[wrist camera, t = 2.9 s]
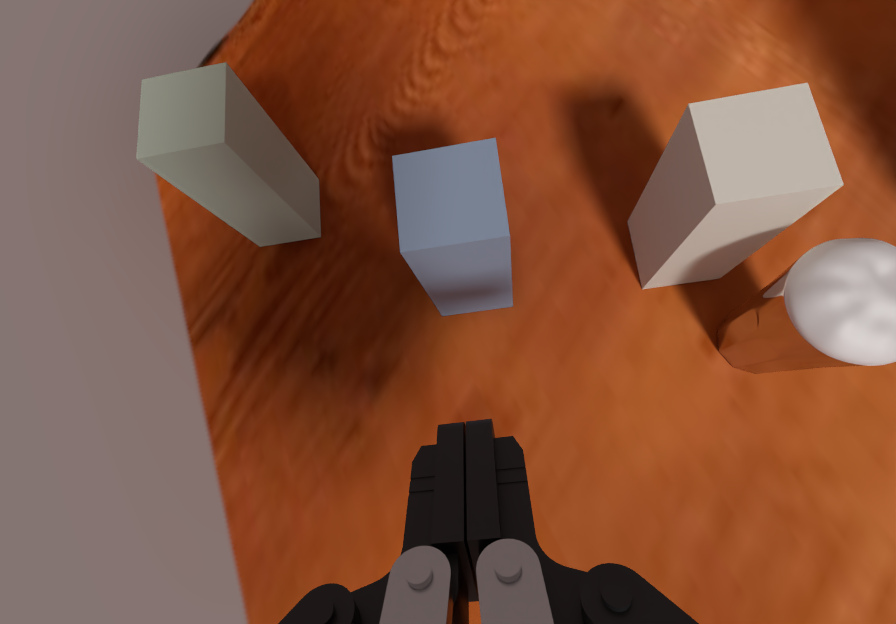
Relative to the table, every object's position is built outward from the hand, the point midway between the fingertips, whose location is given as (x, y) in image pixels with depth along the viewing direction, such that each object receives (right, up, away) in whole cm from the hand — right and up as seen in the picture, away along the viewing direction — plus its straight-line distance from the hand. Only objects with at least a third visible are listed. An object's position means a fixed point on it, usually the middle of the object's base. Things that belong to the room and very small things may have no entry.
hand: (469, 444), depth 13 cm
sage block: (-11, +10, +17) cm, 22 cm away
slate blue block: (+1, +6, +14) cm, 15 cm away
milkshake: (+15, +2, +11) cm, 19 cm away
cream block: (+12, +7, +13) cm, 19 cm away
